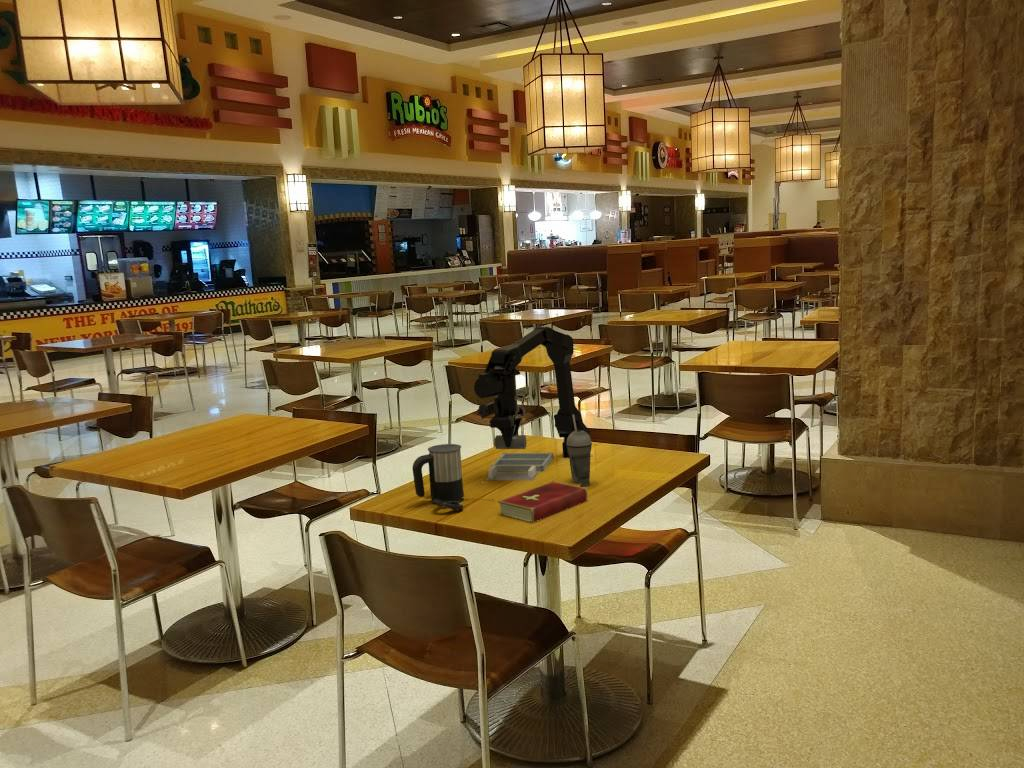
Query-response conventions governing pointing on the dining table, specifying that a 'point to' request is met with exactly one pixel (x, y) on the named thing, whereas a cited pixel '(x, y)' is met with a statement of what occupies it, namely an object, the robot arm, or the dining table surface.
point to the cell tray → (522, 461)
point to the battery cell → (516, 443)
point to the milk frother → (441, 475)
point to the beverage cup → (579, 455)
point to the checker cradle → (511, 474)
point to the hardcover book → (543, 501)
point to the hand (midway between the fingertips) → (510, 445)
